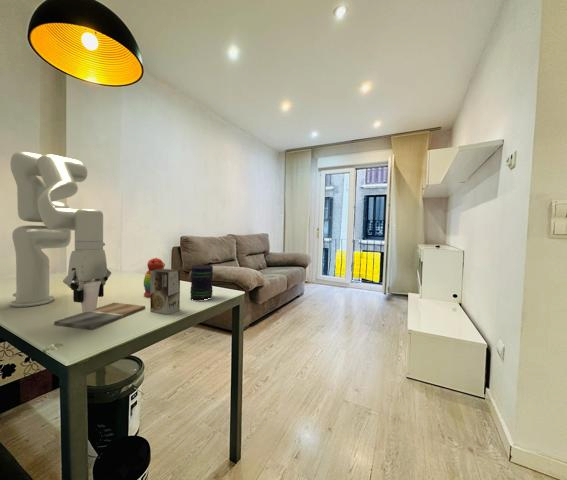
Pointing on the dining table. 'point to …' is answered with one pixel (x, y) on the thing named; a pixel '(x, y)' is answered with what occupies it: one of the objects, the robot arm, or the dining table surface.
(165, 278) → the coffee box
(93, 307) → the smoothie
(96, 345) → the dining table surface
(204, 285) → the storage jar
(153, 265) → the stacking bear
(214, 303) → the dining table surface
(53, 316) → the dining table surface
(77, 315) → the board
